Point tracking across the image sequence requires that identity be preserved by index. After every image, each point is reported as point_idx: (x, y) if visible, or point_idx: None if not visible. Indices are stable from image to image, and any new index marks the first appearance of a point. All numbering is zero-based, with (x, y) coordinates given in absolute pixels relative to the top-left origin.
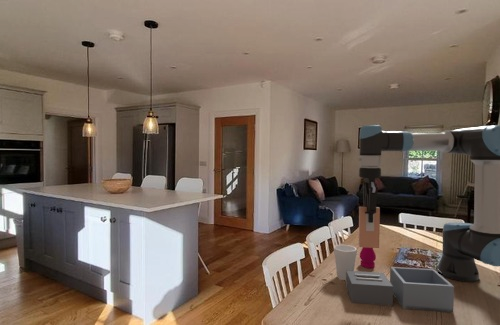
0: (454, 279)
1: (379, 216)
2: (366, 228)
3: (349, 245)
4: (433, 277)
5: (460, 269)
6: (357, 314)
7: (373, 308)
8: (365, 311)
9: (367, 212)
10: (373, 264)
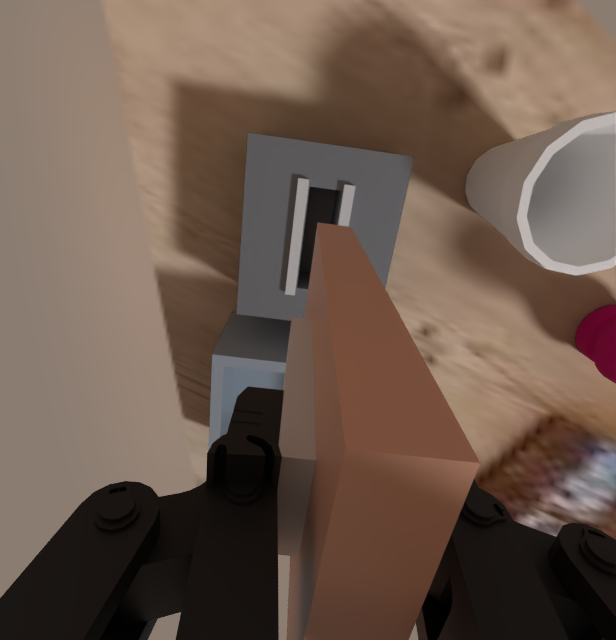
0: None
1: (291, 567)
2: (291, 330)
3: None
4: None
5: None
6: (168, 129)
7: (222, 211)
8: (196, 171)
9: (208, 478)
10: (585, 353)
